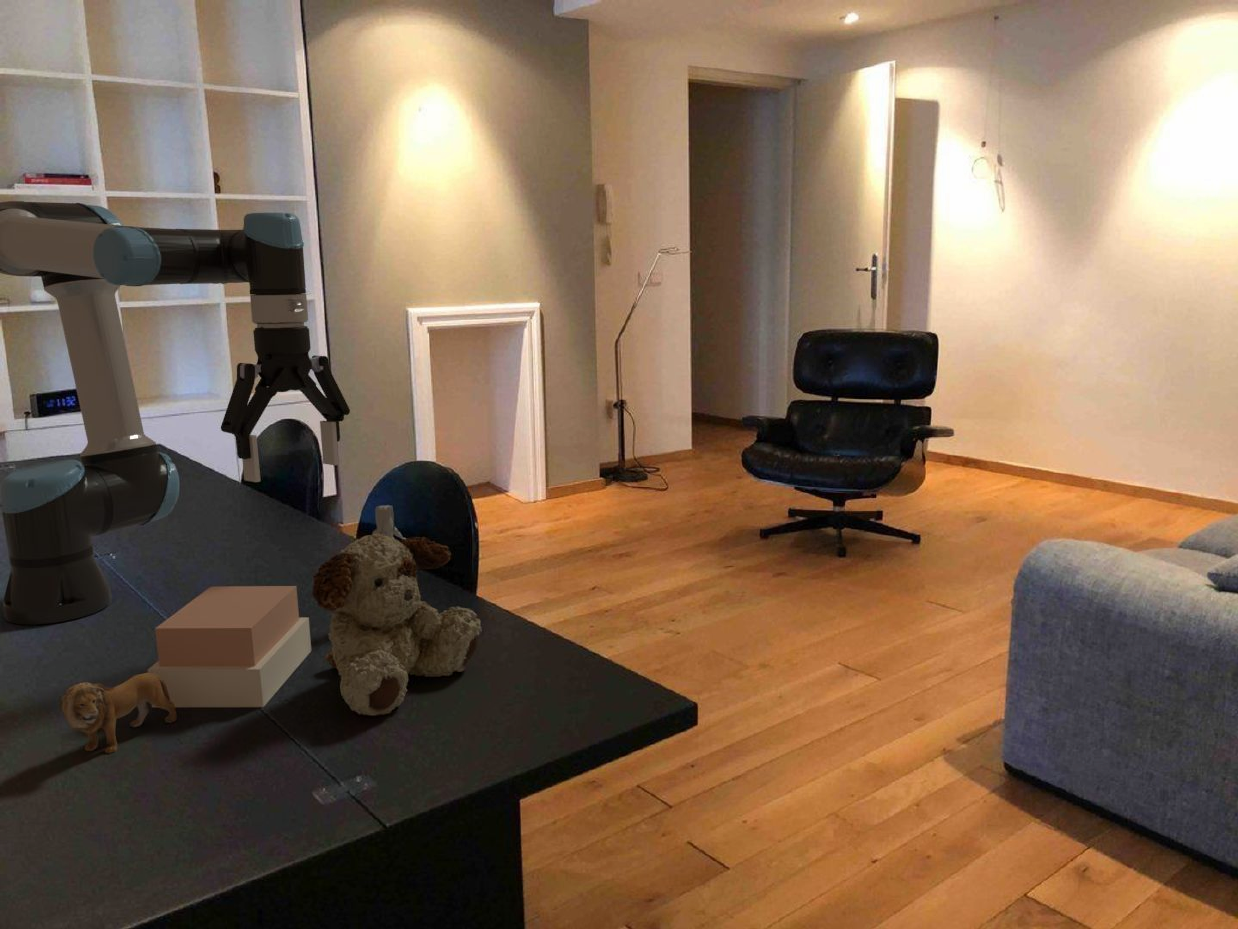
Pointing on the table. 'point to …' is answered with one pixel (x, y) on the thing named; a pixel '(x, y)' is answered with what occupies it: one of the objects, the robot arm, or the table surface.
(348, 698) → the dog
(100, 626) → the table surface
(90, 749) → the lion figurine
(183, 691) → the stacked block pedestal
